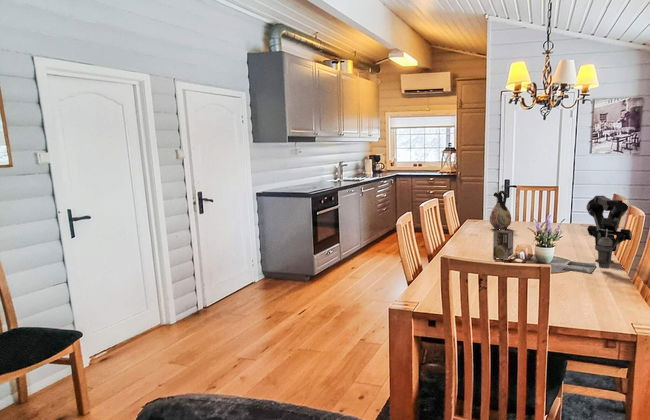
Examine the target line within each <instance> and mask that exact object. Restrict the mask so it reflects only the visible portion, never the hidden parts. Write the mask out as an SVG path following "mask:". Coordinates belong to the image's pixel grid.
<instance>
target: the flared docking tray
mask: <svg viewBox="0 0 650 420" xmlns="http://www.w3.org/2000/svg"><path fill="white" fill-rule="evenodd" d="M570 264H573V265H581V266H596V267H597V264H596V263H595V262H583V261H574V260H567V261H566V262H565V263H564V264H563V265H562V269H563V268H566V269H573V270H581V271H585V272H588V273H587V274H591V273H590V272H591V269H588V268H584V267H577V266H569V265H570Z"/></svg>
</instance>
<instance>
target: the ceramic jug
mask: <svg viewBox="0 0 650 420" xmlns="http://www.w3.org/2000/svg"><path fill="white" fill-rule="evenodd" d="M493 196H494V198H497V202H496V204H495V205H494V206H493V208H492V210H491V212H490V216H489V224H490V225H491V226H492V227H493V229H494V230H495V229H500V230H505V229H506V230H508V227H509V226H510V225H511V224H512V215H511V212H510V210H509V208H508V207H507V205H506V203H507V199H508V194H507V192H506V191H505V190H499V191H498V192H496V191H495V192H494V193H493ZM506 230H505V231H506Z"/></svg>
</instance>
